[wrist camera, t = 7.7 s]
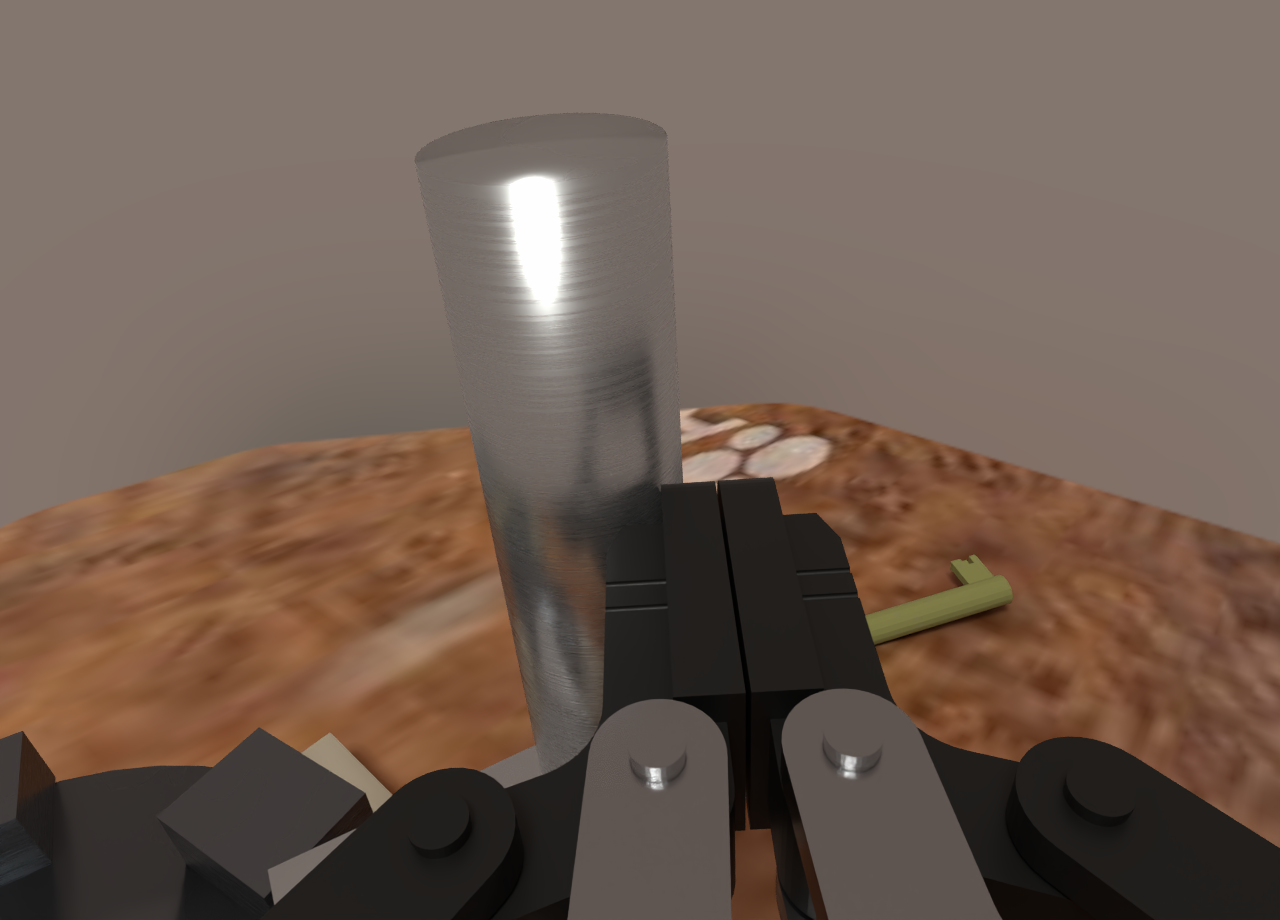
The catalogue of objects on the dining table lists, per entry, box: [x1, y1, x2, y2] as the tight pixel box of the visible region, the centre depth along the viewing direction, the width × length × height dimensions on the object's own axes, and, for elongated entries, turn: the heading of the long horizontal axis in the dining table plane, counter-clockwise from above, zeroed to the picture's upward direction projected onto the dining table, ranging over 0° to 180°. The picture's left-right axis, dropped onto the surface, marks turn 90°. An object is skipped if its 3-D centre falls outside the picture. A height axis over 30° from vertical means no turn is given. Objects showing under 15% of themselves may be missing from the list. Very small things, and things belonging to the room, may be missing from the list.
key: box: [865, 555, 1013, 645], centre depth 36 cm, size 7×12×2 cm, turn 122°
